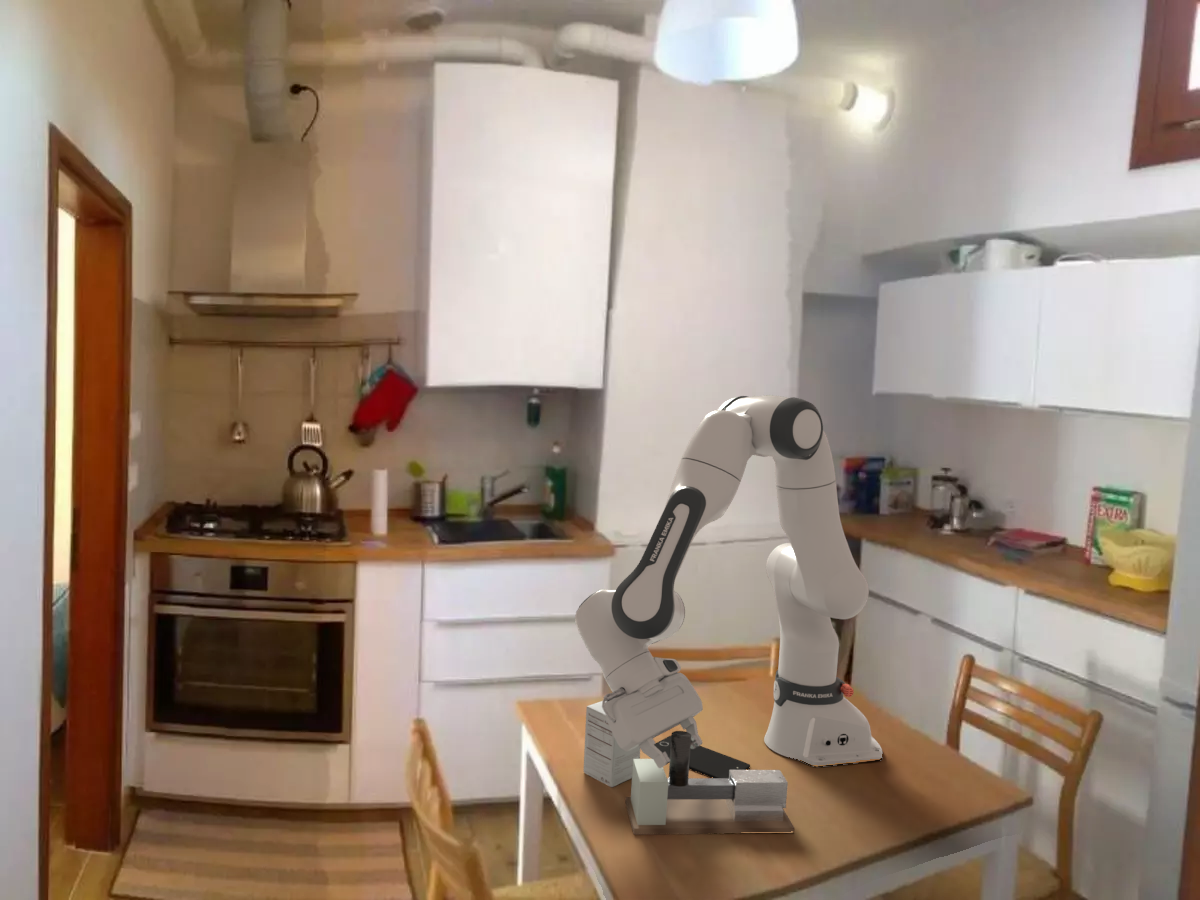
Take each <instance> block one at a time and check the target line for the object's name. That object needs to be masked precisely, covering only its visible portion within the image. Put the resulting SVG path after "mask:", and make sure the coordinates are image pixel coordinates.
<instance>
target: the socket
mask: <svg viewBox="0 0 1200 900" xmlns="http://www.w3.org/2000/svg"><path fill="white" fill-rule="evenodd" d="M667 778H668V777H667V774H666V772H665V770H664V766H663V767H662V768H658V767H657V765H656V763H655V762H654V760H653V759H651V758H640V759H633V770H632V778H631V787H630V788H631V789H630V790H631V791H630V797H631V803H632V806H633V810H634V814H635V817H636V821H637V825H666V810H667V795H668V780H667Z"/></svg>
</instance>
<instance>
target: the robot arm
mask: <svg viewBox="0 0 1200 900" xmlns="http://www.w3.org/2000/svg"><path fill="white" fill-rule="evenodd" d="M752 456H756V457H763V458H766V457H772V459H773V460H774V475H775V476H774V478H775V486H776V487H775V489H776V498H777V499H776V500H777V507H778V516H779V523H780V526H781V528H782V530H783V532H784V533H785V535H786V536H787V539H788V541H789V542H785V543H781V544H779V545H777V546H776V547H775V548H774V549H773V550H772V551H771V552H770V553H769V555H768V557H767V559H766V565H765V572H766V575H767V578H768V580H769V582H770V584H771V586H772V589H773V590H772V591H773V593H774V597H775V603H776V608H777V609H776V610H777V611H776V612H777V616H778V622H779V632H780V633H779V634H780V635H779V636H780V637H779V639H780V640H779V653H778V655H779V657H778V669H777V670H776V672H775V679H774V682H773V700H774V703H773V707H772V708H773V709H772V713H771V717H770V721H769V724H768V728H767V730H766V733H765V735H764V738H763V741H764V743H765V745H766V747H768V748H769V749H770V750H772V752H775V753H777V754H779V755H781V756H784V757H786V758H789V757H790V759H793V758H794V759H793V760H796V759H798V760H797V761H800V760H802V761H804V762H806V763H808V764H811V765H818V766H819V765H827V764H828V765H829V764H835V763H846V762H856V761H860V760H870V759H880V758H882V759H883V757H882V754H883V753H884V752H883V748H882V747H881V745H880V743H878V741H877V740H876V739H875V738H874V737H873V736H872V731H871V725H870V723H869V721H868V718H867V717H866V716H865V715H864V713H863V712H862V711H861V710H860V709H858V707H856V706H855V705H854V704H853V703H852V702H850V700H848V698H850V697H853V696H854V689H853V687H851V685H850V684H849V683H845V681H844V680H843V679H841V678H840V677H838V676H837V674H838V673H837V671H838V670H837V669H838V660H839V649H840V648H839V647H840V643H839V637H838V634H837V633H836V632H837V631H836V630H835V628H834V627H833V623H832V619H836V620H837V619H839V620H849V619H851V618H854V617H856V616H857V615H858V614H859V613H861V612H862V610H863V609H864V607H866V604H867V602H868V598H869V594H870V593H869V591H870V588H869V584H868V581H867V579H866V577H865V576H864V575H863V573H862V572H861V570H860V569H859V567H858V565H857V564H856V561H855V559H854V557H853V555H852V552H851V549H850V546H849V543H848V541H847V539H846V535H845V532H844V529H843V528H844V527H843V525H842V521H841V517H840V509H839V500H838V491H837V480H836V479H837V478H836V471H835V464H834V459H833V458H834V457H833V454H832V450H831V446H830V443H829V439H828V436H827V434H826V432H825V431H824V425H823V419H822V416H821V414H820V412H819V409H818V408H817V407H816V406H815V405H814V403H812V402H810V401H807V400H805V399H803V398H799V397H787V396H786V397H785V396H779V395H773V394H772V395H771V394H767V395H764V394H763V395H757V396H755V395H754V396H747V395H739V396H735V397H732V398H730V399H728V400H726V401H724V402H723V403H722V404H721V405H720V406H719V407H718V408H717V410H713V411H711V412H709V413H707V414H706V415H705V416H704V417H703V418H702V420H701V421H700V423H699V424H698V425H697V427H696V429H695V430H694V432H693V433H692V436H691V437H690V440H689V441H688V444H687V445H686V447H685V450H684V451H683V454H682V456H681V458H680V461H679V464H678V467H677V468H676V472H675V474H674V478H673V481H672V484H671V487H670V491H669V494H668V497H667V500H666V503H665V506H664V509H663V511H662V513H661V516H660V517H659V520H658V522H657V524H656V526H655V529H654V531H653V533H652V535H651V537H650V539H649V541H648V543H647V546H646V547H645V550H644V552H643V555H642V556H641V558H640V560H639V563H637V565H636V567H635V568H634V570H632V572H630V573H629V574H628V576H626V577H625V578H624V579H622V580H623V581H621V583H620V584H619V585H618V586H617V587H616V589H605V588H604V589H603V588H602V589H598V590H596V591H595V592H594V593H592V594H590V595H588V597H587V598H585V599H584V600H583V601H582V602H581V604H580V605H579V607H578V608H577V610H576V612H575V616H574V620H575V621H574V622H575V625H576V628H577V631H578V634H579V636H580V639H581V640H582V643H583V644H584V646H585V648H586V649H587V651H588V653H589V655H590V656H591V658H592V660H593V661H595V662H596V663H597V664H598V666H599V667H600V669H601V672H602V676H603V678H604V680H605V682H606V683H607V685H608V687H609V689H610V691H611V692H609V693H607V694H605V695H604V696H603V699H602V701H603V702H602V708H603V710H604V712H605V714H606V718H607V721H608V724H609V726H610V729H611V731H612V733H613V735H614V737H615V739H616V741H617V743H618V745H619V747H620V748H621V749H623V750H624V751H626V752H628V751H630V750H632V749H634V748H635V747H637V746H639V747H640V751H641V752H642V753H643V754H644V755H646V756H647V757H649V759H653V760H654V762H655V763H656V765H657V767H658V768H662V767H663V768H664V767H665V766H666V765H668V764H670V759H669V757H668V756H667V754H666V752H663V753H662V752H661V751H660V750H659V749H658V748H657V747H656V746H654V744H655V743H656V742H655V740H654V739H655V738H657V737H658V736H660V735H662V734H664V733H666V732H668V731H669V730H672V729H673V728H675V727H678V726H681V728H682V729H683V731H685V732H688V733H690V734H691V747H690V748H691V749H695V748H697V747H698V746H702V744H703V740H702V738H701V737H700V735H699V732H698V731H699V730H698V726H697V725H698V724H697V722H696V719H695V716H697V715H698V714H700V712H702V711H703V702H702V699H701V697H700V696H699V694H698V692H697V691H696V689H695V688H694V685H692V683H691V681H690V680H689V679H688V677H687V676H686V675H685V674H683V673H681V672H680V671H681V669H682V668H681V667H682V666H681V664H680V663H679V662H678V661H677V660H676V659H674V658H663V657H656V656H653V655H652V653H651V652H650V650H649V647H650V646H651V645H652V644H655V643H658V642H661V641H663V640H667V639H669V638H670V637H673V636H674V635H675V634H676V633H677V632H679V630H680V629H681V627H682V625H684V624H683V623H684V622H685V616H686V609H685V608H686V607H685V604H684V601H683V599H682V597H681V595H680V594H679V593H678V592H677V591H675V583H676V579H677V576H678V575H679V572H680V571H681V568H682V565H683V563H684V560H685V558H686V556H687V554H688V551H689V550H690V547H691V545H692V543H693V540H694V538H695V537H696V536H697V534H698V533H699V532H700V531H701V529H703V528H704V527H705V526H707V525H708V524H710V523H712V522H715V521H717V520H719V519H721V518H722V517H723V516H724V514H725V513H726V512H727V510H728V508H729V507H730V505H731V504H732V501H733V500H734V498H735V496H736V494H737V492H738V489H739V487H740V485H741V482H742V479H743V476H744V474H745V469H746V467H747V464H748V461H749V459H750V458H751V457H752ZM831 618H832V619H831ZM852 695H853V696H852ZM605 701H606V702H605ZM802 761H801V762H802ZM804 762H803V763H804ZM806 763H805V764H806ZM808 764H807V765H808Z"/></svg>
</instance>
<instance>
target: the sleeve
mask: <svg viewBox="0 0 1200 900" xmlns="http://www.w3.org/2000/svg"><path fill="white" fill-rule="evenodd" d="M729 778H732V780H733V782H734V783H735V790H734V799H726V804H727V806H728V808H729V811H730V813H731V815H732V817H733V819H734V821H783V812H784V811H785V810H784V811H783V809H786V808H787V798H788V797H787V796H788V785H789V782H788V781H787V779H786V777H785V776H784V775H783V772H782V771H781V770H780V769H748V770H729ZM782 808H783V809H782Z"/></svg>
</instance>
